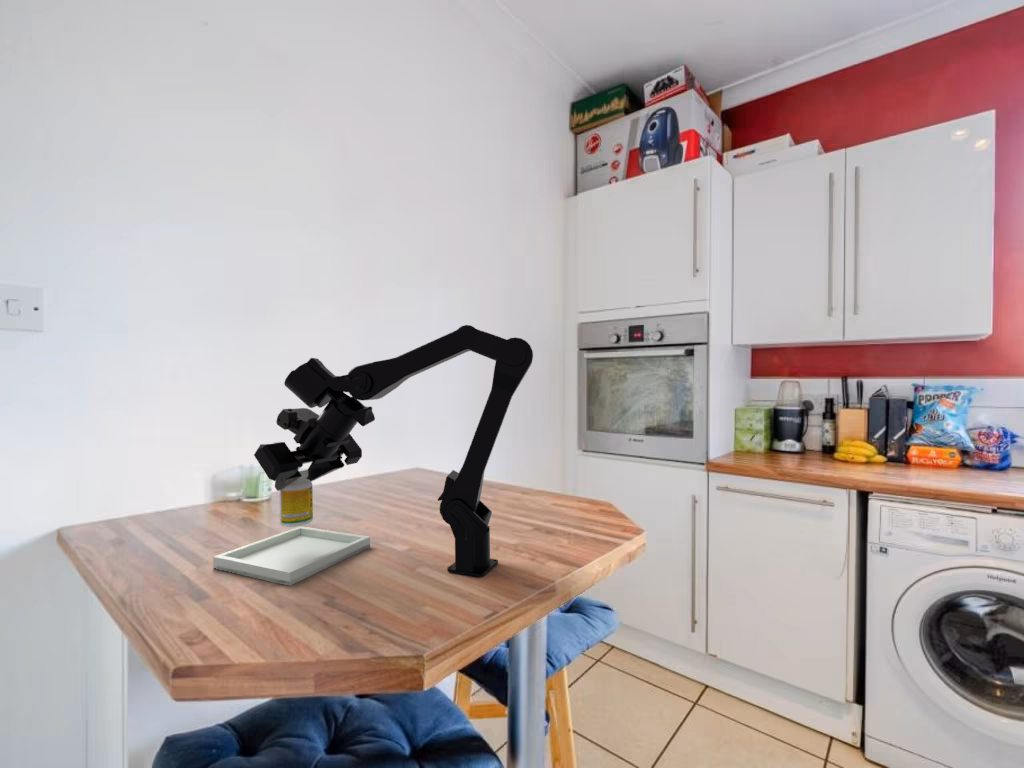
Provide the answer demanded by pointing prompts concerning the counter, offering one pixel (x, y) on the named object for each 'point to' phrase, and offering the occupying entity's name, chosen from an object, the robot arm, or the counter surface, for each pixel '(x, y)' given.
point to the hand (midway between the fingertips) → (290, 485)
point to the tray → (291, 554)
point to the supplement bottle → (297, 502)
